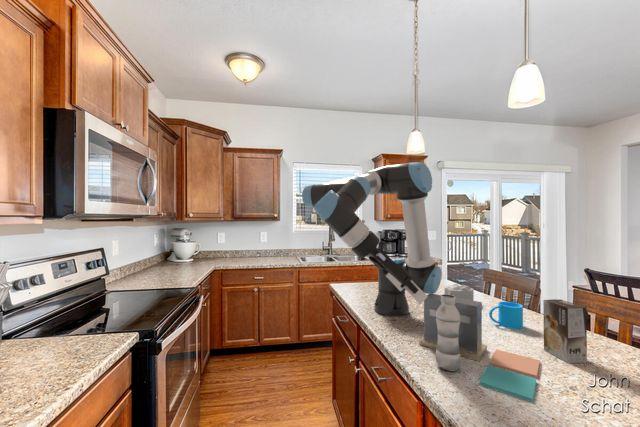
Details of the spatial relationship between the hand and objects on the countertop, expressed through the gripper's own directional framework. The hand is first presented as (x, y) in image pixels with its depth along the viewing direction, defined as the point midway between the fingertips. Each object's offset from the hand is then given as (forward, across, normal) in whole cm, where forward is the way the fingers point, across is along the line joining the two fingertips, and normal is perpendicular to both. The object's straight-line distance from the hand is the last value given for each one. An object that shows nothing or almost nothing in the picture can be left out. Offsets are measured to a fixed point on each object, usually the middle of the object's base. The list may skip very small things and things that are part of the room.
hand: (412, 293), depth 83 cm
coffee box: (+50, +4, -21) cm, 54 cm away
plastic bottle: (+22, -1, +8) cm, 23 cm away
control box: (+28, +12, +1) cm, 30 cm away
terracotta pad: (+36, 0, -7) cm, 37 cm away
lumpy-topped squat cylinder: (+49, +60, -21) cm, 81 cm away
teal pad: (+30, -9, -1) cm, 31 cm away
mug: (+50, +30, -21) cm, 62 cm away
